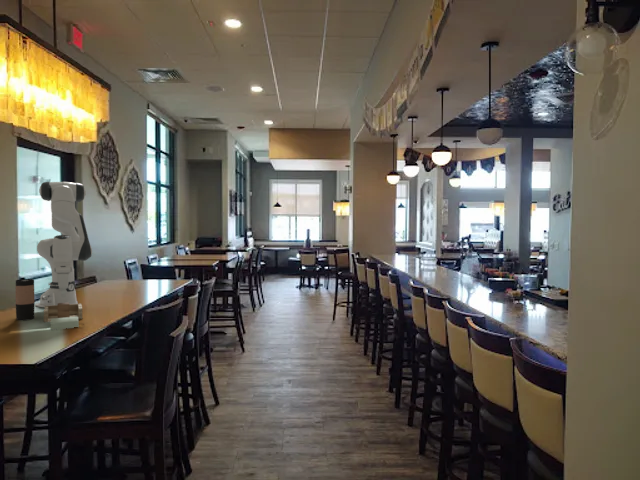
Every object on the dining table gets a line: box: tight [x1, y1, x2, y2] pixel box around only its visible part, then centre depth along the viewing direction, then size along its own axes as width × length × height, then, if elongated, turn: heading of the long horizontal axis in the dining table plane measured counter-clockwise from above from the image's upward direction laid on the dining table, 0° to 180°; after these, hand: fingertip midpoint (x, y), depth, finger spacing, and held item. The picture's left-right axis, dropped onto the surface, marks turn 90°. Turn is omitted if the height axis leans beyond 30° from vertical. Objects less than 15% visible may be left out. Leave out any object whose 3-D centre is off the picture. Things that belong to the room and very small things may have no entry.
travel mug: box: [15, 278, 36, 321], centre depth 213 cm, size 8×8×20 cm
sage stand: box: [50, 317, 80, 331], centre depth 203 cm, size 11×11×3 cm
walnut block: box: [58, 302, 69, 318], centre depth 217 cm, size 5×5×7 cm
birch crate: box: [43, 302, 83, 323], centre depth 218 cm, size 16×16×6 cm
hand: (63, 296), depth 216 cm, fingers open, 8 cm apart
